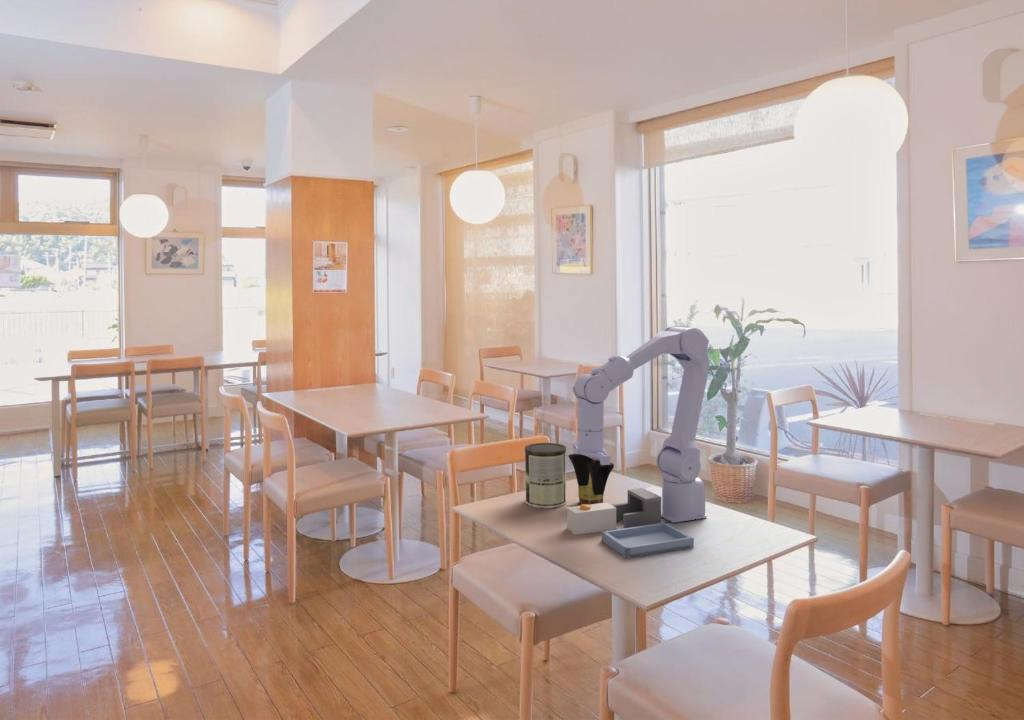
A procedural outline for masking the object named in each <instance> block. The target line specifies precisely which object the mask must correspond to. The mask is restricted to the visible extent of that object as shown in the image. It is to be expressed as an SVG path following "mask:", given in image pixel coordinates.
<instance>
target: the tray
mask: <svg viewBox="0 0 1024 720" xmlns="http://www.w3.org/2000/svg"><path fill="white" fill-rule="evenodd" d="M694 541H695V539H694V537H693V536H691V535H689V534H687V533H685V532H683V531H682V530H680V529H678V528H676V527H674V526H672V525H671V524H669V523H668V522H661V523H658V524H651V525H644V526H637V527H630V528H618V529H617V528H616V529H613V530H606V531H601V542H603V543H604V544H606V545H607V546H608V547H610V548H611V547H612V548H611V549H612V550H614V551H616V552H617V553H618V552H619V553H618V554H620V555H621V556H623V557H624V558H625V559H629V558H628V557H631V558H636V557H635V556H637V557H641V556H642V555H643V556H649V555H654V554H660V553H668V552H674V551H679V550H685V549H691V548H692V549H693V548H694V545H695V543H694ZM643 556H642V557H643Z"/></svg>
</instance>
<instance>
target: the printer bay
mask: <svg viewBox="0 0 1024 720" xmlns="http://www.w3.org/2000/svg"><path fill="white" fill-rule="evenodd" d="M611 505H612V506H614V507H616V521H623V525H622V527H623V528H630V527H637V526H644V525H651V524H658V523H662V517H661V510H662V496H660V495H658V494H656V493H654V492H652V491H650V490H647V489H646V488H644V487H638V488H631V489H630V488H629V489H627V502H623V503H622V502H620V503H613V504H611ZM623 528H622V529H623Z"/></svg>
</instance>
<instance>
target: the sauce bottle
mask: <svg viewBox="0 0 1024 720" xmlns="http://www.w3.org/2000/svg"><path fill="white" fill-rule="evenodd" d="M594 462H595V460H592V463H594ZM577 487H578V489H577V491H578V499H579V503H580V505H582V504H588V505H590V504H598V503H604V496H605V494H602V495H594V493H593V489H592V479H591V475H590V474H589V482H588V485H586V486H577Z"/></svg>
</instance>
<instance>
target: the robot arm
mask: <svg viewBox="0 0 1024 720" xmlns="http://www.w3.org/2000/svg"><path fill="white" fill-rule="evenodd" d="M709 342H710V340H709V339H708V337H707V336H706V335H705V333H704V332H703V331H702V330H701V329H699V328H697V327H680V326H676V325H673V326H672V325H671V326H668V327H666V328H665V329H664V330H660V331H659V332H657V334H655V336H653V337H652V338H650V339H649V340H648V341H647V342H645V343H643V344H642V345H640V347H637V349H635V350H634V351H632V352H630V353H629V354H628V355H626V356H621V355H617V356H616V355H615V356H614V355H612V356H610V357H609V358H608V359H607V360H608V361H607V362H605V363H604V364H603V365H601V366H599V367H598V368H597V367H593V368H592V369H591V372H590V374H589V373H584V374H580V375H579V377H577V378H576V381H575V382H574V386H573V385H572V392H573V394H574V396H575V397H576V401H577V442H572V453H569V454H568V458H569V461H570V462H571V464H572V466H573V468H574V469H573V470H574V473H575V478H576V481H577V485H578V486H586V485H588V482H589V474H590V475H591V479H592V489H593V493H594V495H602V494H604V493H605V490H606V486H607V482H608V479H609V476H610V474H611V473H612V470H613V469H614V466H615V465H614V464H615V463H613V462H611V455H610V454H608V453H607V451H606V449H605V445H604V444H605V443H604V441H605V437H604V436H605V427H604V426H605V419H604V417H605V416H604V415H605V410H604V409H605V407H604V406H605V400H606V399H607V398H608V397H609V394H610V392H612V391H613V390H614V389H616V388H618V387H619V386H621V385H623V384H624V383H626V382H627V381H628V380H630V379H631V378H633V376H634V375H633V374H634V371H635V370H637V368H640V367H641V366H643V365H645V364H647V363H649V362H651V361H652V360H653V359H656V358H658V357H659V356H661V355H663V354H664V355H666V354H669V355H670V356H671V357H673V358H675V360H677V362H678V363H679V364H680V365H681V367H682V369H683V373H682V378H681V379H682V380H681V382H680V383H681V384H680V388H679V393H678V397H677V403H676V406H675V407H676V409H675V412H674V418H673V422H672V423H673V424H672V428H671V434H670V435H669V436H668V437H667V438H666V439H665V440H664V441H663V444H662V446H661V449H660V451H659V452H658V454H657V456H656V461H655V462H656V466H657V468H658V469H659V471H661V478H662V481H661V483H662V485H661V488H662V489H661V518H663V519H665V520H667V521H668V522H670V523H673V524H675V523H681V522H688V521H695V519H696V520H701V518H703V519H707V518H708V515H707V514H706V486H705V484H704V481H703V480H702V479H701V478H700V477H698V476H699V475H700V473H701V469H702V464H701V459H700V457H701V449H700V448H699V446H698V444H697V442H696V436H697V431H698V428H699V427H698V426H699V421H700V416H701V410H702V405H703V401H704V397H705V391H706V386H707V380H708V376H709V372H710V358H709V351H708V348H709ZM592 460H595V462H594V463H592ZM578 486H577V487H578ZM604 495H605V494H604ZM706 517H707V518H706Z"/></svg>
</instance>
